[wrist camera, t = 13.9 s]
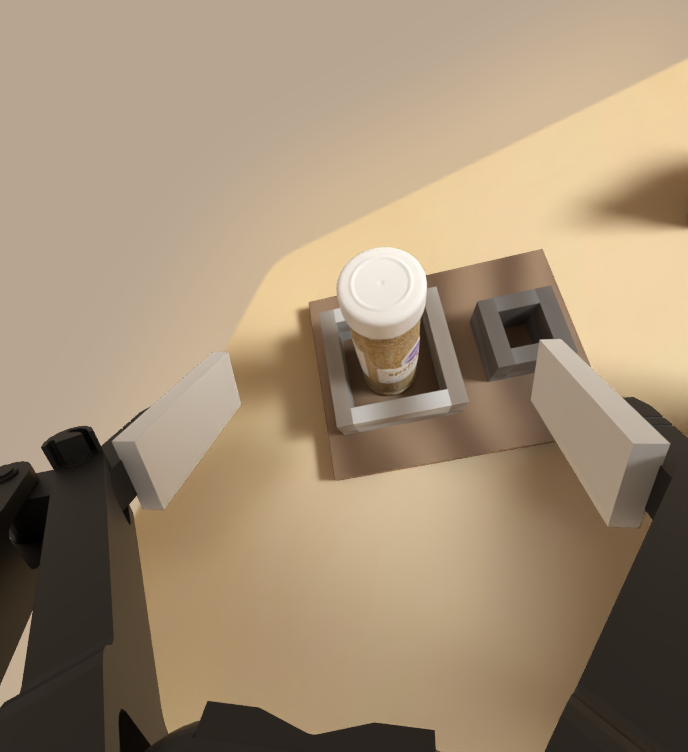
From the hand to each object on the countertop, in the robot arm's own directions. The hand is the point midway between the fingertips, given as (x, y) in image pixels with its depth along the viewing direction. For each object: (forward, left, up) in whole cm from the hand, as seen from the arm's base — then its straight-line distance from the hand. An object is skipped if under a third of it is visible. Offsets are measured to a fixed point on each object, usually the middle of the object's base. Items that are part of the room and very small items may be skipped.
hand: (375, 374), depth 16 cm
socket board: (-6, -5, -16) cm, 17 cm away
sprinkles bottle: (-1, -5, -14) cm, 15 cm away
